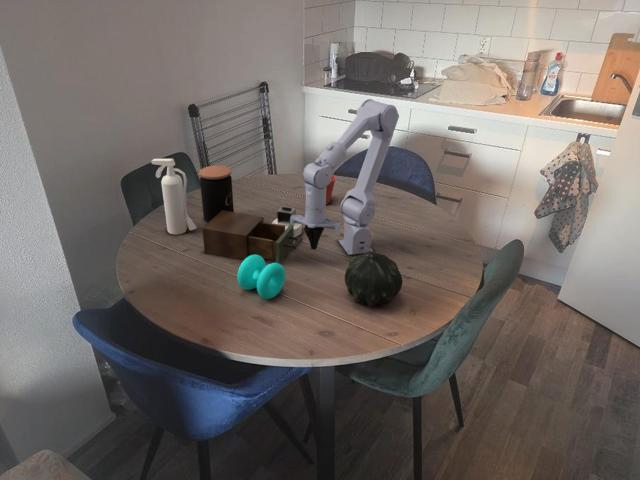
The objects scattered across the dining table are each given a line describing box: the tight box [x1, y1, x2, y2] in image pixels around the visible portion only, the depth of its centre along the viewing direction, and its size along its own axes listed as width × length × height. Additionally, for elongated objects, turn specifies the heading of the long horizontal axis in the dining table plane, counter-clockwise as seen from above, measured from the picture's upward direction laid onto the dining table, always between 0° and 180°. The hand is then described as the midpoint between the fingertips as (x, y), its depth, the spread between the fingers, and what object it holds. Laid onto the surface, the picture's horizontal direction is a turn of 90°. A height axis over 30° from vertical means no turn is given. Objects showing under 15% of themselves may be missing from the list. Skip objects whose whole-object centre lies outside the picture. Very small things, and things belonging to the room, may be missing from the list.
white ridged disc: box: [271, 217, 303, 238], centre depth 165 cm, size 10×10×4 cm
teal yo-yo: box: [237, 255, 286, 300], centre depth 133 cm, size 10×10×10 cm
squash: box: [344, 251, 403, 307], centre depth 130 cm, size 14×15×15 cm
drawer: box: [247, 221, 303, 264], centre depth 152 cm, size 18×12×7 cm
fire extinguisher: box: [150, 158, 197, 236], centre depth 161 cm, size 7×12×25 cm, turn 74°
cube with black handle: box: [276, 205, 297, 226], centre depth 163 cm, size 5×4×5 cm
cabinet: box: [201, 210, 265, 261], centre depth 156 cm, size 15×14×9 cm
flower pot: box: [326, 174, 336, 205], centre depth 185 cm, size 11×11×10 cm
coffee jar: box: [198, 165, 235, 224], centre depth 170 cm, size 11×11×18 cm
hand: (314, 247), depth 148 cm, fingers closed
